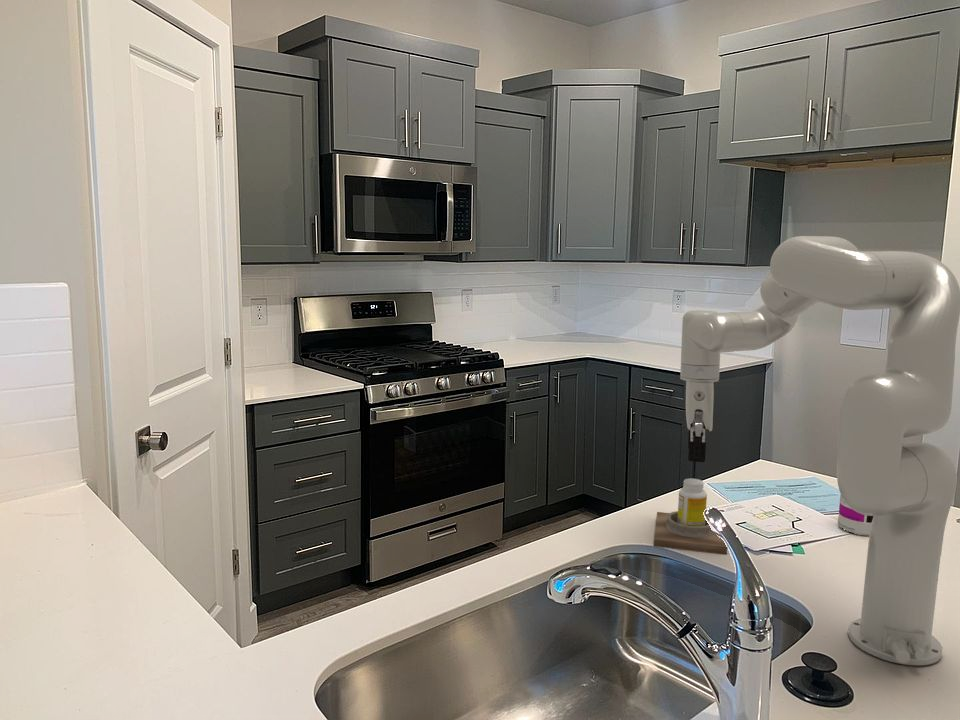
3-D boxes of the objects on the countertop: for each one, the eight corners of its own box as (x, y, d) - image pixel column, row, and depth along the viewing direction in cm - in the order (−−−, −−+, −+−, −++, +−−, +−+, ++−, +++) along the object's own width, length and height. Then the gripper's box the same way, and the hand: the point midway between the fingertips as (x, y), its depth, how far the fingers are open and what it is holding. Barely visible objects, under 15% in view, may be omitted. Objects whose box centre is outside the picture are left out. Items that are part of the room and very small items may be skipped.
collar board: (726, 554, 149) (728, 537, 148) (653, 546, 152) (654, 529, 152) (723, 525, 164) (724, 509, 164) (656, 518, 168) (657, 503, 167)
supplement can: (842, 534, 160) (849, 465, 157) (834, 520, 168) (840, 455, 165) (884, 538, 158) (892, 469, 156) (874, 524, 166) (881, 458, 163)
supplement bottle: (710, 529, 158) (713, 482, 156) (694, 535, 154) (697, 487, 152) (687, 521, 162) (690, 475, 160) (671, 527, 158) (674, 480, 157)
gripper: (721, 379, 144) (717, 468, 146) (717, 367, 160) (713, 446, 162) (680, 378, 145) (676, 465, 148) (680, 365, 162) (677, 444, 164)
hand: (696, 455), depth 155 cm, fingers open, 9 cm apart
